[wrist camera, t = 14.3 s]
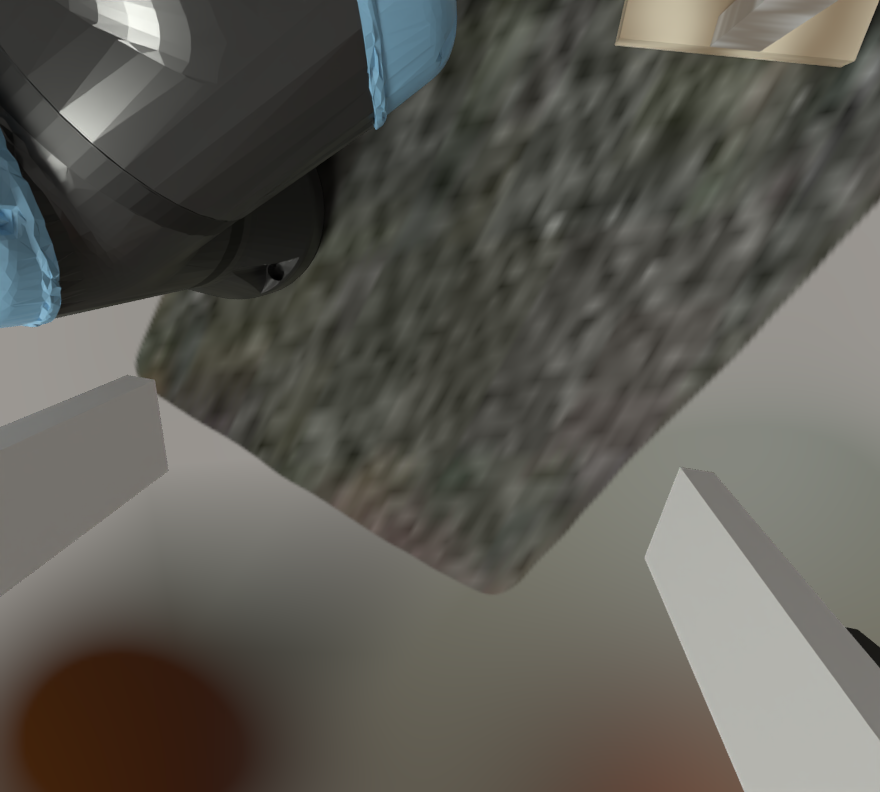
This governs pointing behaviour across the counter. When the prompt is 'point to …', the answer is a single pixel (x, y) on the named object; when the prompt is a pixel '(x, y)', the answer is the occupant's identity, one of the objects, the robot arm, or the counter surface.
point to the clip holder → (750, 28)
